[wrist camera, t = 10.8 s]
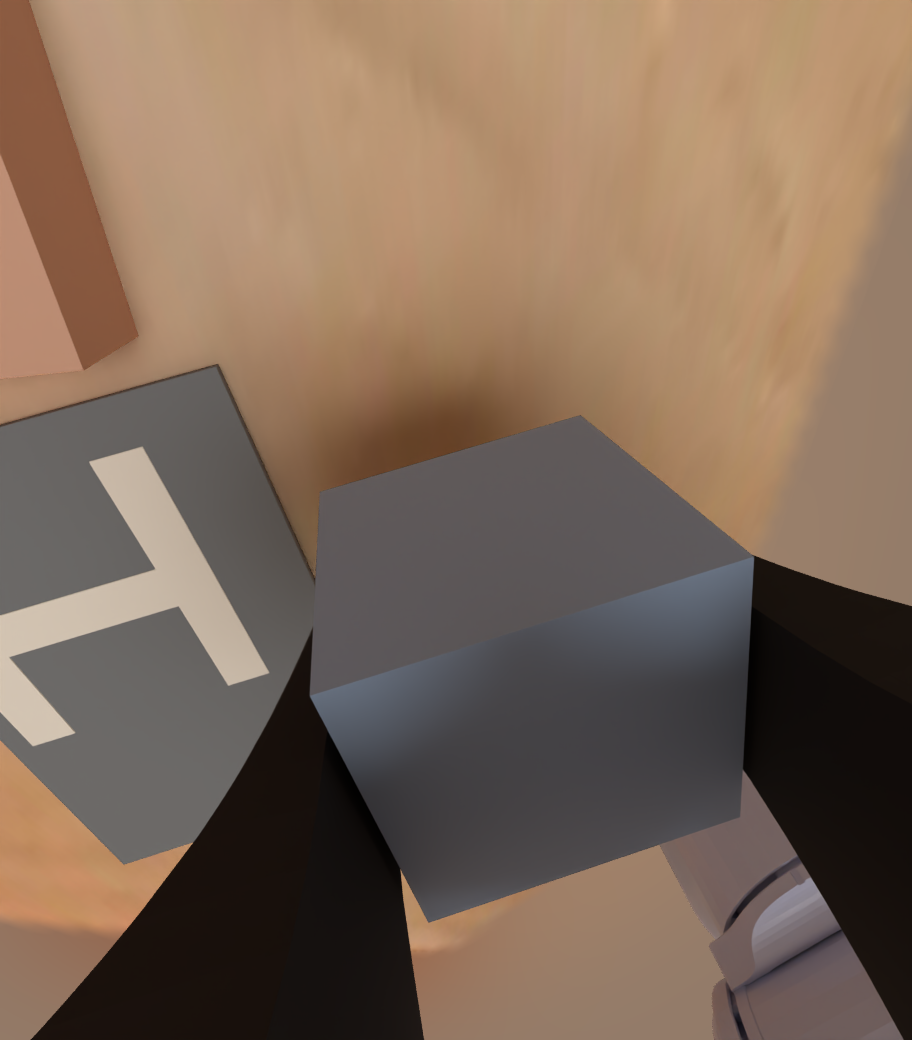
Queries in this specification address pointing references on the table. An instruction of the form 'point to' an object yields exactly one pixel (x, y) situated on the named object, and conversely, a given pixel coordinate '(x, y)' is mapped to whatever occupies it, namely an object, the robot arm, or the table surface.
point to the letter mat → (143, 605)
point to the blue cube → (529, 661)
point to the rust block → (48, 224)
